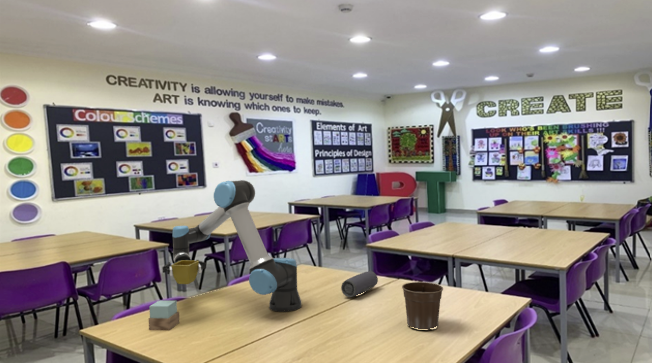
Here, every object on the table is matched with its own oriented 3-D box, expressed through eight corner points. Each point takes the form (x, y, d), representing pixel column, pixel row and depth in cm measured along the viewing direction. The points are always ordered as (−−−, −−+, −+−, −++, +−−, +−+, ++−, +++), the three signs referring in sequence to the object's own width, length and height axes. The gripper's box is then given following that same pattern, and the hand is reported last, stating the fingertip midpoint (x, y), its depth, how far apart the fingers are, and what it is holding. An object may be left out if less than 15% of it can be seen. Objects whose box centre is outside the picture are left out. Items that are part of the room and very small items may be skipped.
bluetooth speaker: (363, 287, 240) (363, 269, 240) (379, 289, 235) (378, 271, 234) (340, 298, 222) (339, 278, 222) (356, 301, 216) (355, 280, 216)
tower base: (179, 323, 192) (179, 311, 192) (169, 330, 183) (169, 318, 183) (159, 322, 193) (159, 311, 193) (149, 330, 184) (148, 318, 184)
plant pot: (445, 321, 185) (444, 282, 184) (442, 335, 170) (441, 293, 169) (406, 317, 190) (405, 280, 190) (399, 331, 175) (398, 290, 175)
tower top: (177, 312, 192) (176, 300, 191) (168, 318, 184) (167, 306, 184) (159, 311, 193) (159, 300, 193) (149, 318, 185) (149, 306, 185)
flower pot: (189, 286, 190) (189, 265, 189) (171, 285, 192) (170, 264, 191) (200, 280, 198) (199, 260, 198) (182, 280, 200) (181, 260, 200)
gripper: (208, 266, 216) (214, 276, 195) (156, 272, 207) (156, 283, 187) (207, 251, 215) (213, 259, 195) (155, 256, 207) (156, 265, 187)
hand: (185, 271), depth 191 cm, fingers closed on flower pot, 11 cm apart
